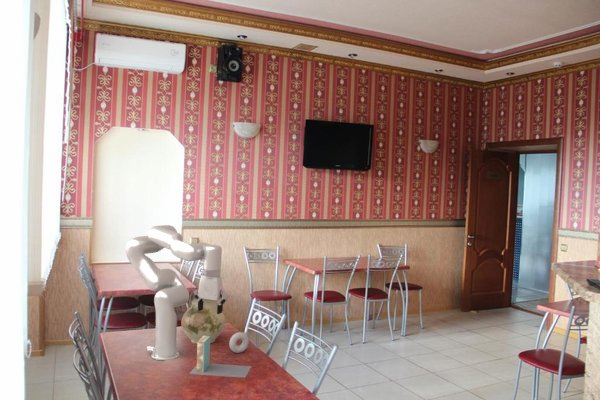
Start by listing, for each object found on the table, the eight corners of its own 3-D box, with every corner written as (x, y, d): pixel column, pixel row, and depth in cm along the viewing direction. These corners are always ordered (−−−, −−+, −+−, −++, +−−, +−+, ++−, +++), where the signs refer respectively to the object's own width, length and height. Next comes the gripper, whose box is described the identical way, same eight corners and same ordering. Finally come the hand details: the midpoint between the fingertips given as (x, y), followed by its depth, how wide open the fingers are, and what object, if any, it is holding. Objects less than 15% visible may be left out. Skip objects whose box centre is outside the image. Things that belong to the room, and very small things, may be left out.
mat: (188, 374, 217) (189, 373, 217) (198, 363, 231) (198, 362, 231) (245, 378, 214) (245, 377, 214) (251, 367, 228) (251, 366, 228)
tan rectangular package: (196, 372, 219) (197, 341, 219) (202, 364, 228) (203, 335, 228) (203, 372, 219) (204, 342, 218) (209, 365, 228) (210, 336, 227)
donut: (230, 355, 244) (231, 334, 244) (227, 353, 247) (228, 332, 247) (249, 352, 249) (250, 331, 249) (246, 350, 252) (247, 330, 252)
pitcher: (213, 349, 252) (214, 298, 252) (170, 344, 259) (171, 294, 259) (231, 337, 274) (233, 290, 274) (191, 333, 280) (193, 287, 280)
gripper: (190, 272, 226) (188, 310, 227) (224, 276, 220) (222, 316, 220) (199, 269, 233) (197, 307, 234) (233, 274, 227) (231, 312, 227)
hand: (209, 311), depth 227 cm, fingers open, 9 cm apart
